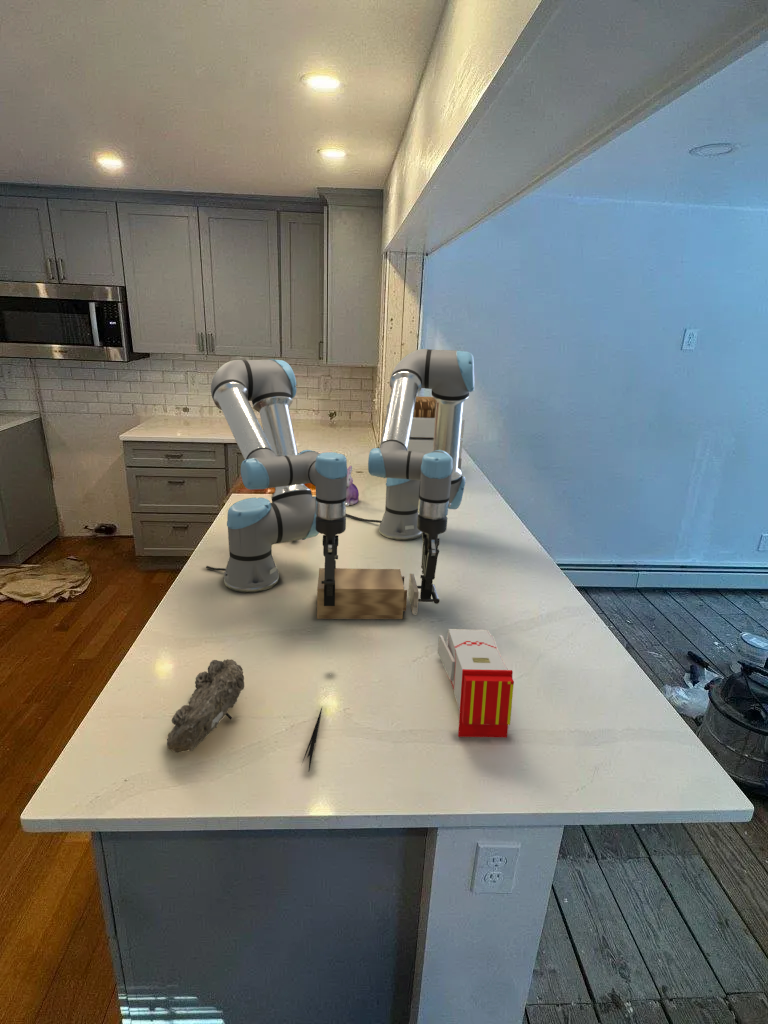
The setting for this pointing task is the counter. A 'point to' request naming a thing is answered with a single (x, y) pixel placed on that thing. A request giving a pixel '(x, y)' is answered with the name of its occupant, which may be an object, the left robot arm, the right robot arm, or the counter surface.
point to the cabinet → (363, 594)
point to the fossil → (206, 705)
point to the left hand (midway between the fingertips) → (329, 593)
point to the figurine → (351, 489)
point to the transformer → (426, 427)
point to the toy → (478, 682)
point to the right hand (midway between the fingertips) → (425, 598)
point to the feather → (313, 740)
